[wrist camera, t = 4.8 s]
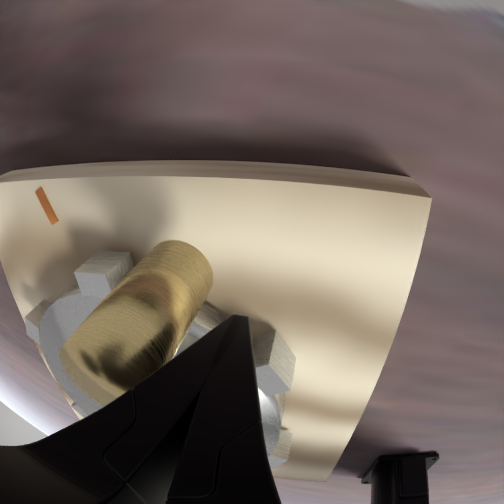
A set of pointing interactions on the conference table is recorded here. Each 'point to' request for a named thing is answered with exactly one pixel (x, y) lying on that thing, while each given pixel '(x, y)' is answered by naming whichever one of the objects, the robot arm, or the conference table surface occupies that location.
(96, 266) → the silver lever dial
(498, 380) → the conference table surface
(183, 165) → the base plate
